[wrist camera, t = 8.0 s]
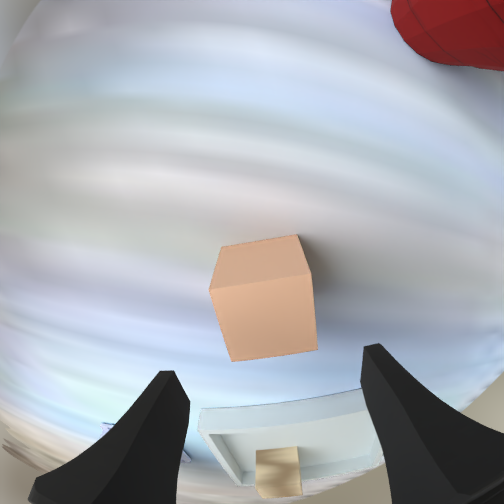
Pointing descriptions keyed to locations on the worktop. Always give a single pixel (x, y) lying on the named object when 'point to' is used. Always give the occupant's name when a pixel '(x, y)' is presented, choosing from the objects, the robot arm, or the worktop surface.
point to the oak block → (278, 472)
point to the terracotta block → (264, 299)
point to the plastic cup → (453, 30)
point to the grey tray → (294, 435)
